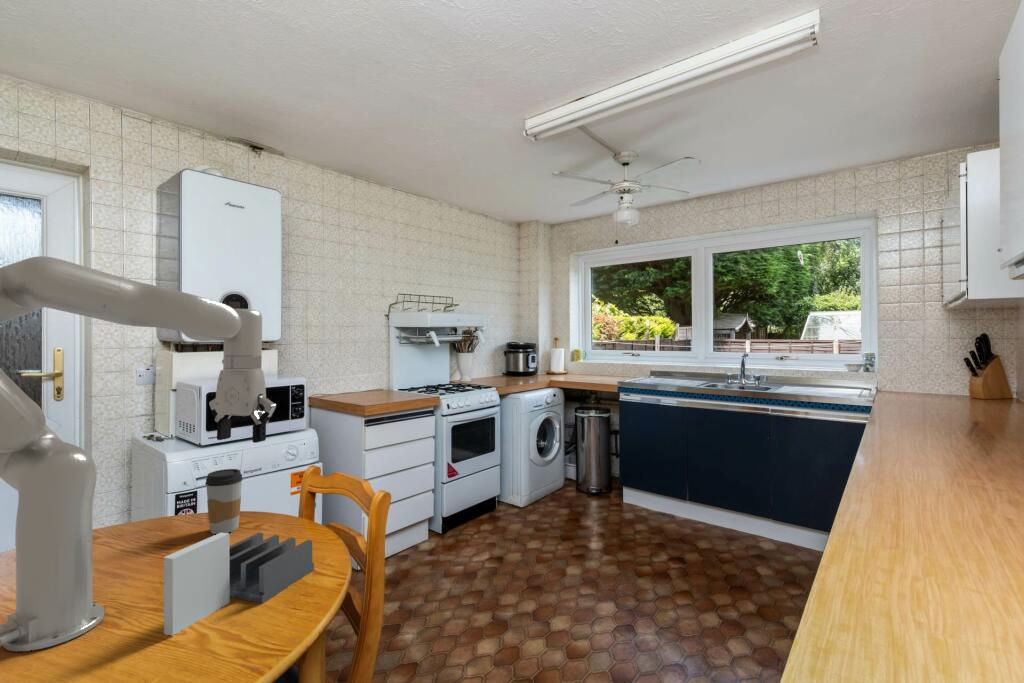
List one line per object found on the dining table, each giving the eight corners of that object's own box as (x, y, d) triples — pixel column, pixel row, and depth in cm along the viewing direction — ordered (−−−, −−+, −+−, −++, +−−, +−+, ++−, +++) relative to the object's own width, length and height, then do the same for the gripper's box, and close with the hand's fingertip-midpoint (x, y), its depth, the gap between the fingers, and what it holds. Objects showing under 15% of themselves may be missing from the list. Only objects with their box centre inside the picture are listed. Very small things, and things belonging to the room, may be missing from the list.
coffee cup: (250, 526, 129) (250, 469, 129) (223, 538, 121) (223, 478, 121) (225, 523, 131) (224, 467, 131) (197, 535, 123) (197, 475, 123)
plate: (172, 636, 81) (172, 558, 81) (164, 634, 81) (163, 557, 81) (229, 602, 91) (229, 533, 91) (221, 600, 92) (221, 532, 92)
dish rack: (262, 603, 91) (262, 568, 91) (203, 591, 95) (203, 558, 95) (314, 569, 104) (313, 539, 104) (260, 560, 108) (260, 531, 108)
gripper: (197, 363, 108) (196, 441, 107) (261, 365, 103) (260, 445, 103) (225, 363, 115) (224, 435, 115) (286, 364, 110) (285, 439, 110)
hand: (241, 440), depth 109 cm, fingers open, 9 cm apart
